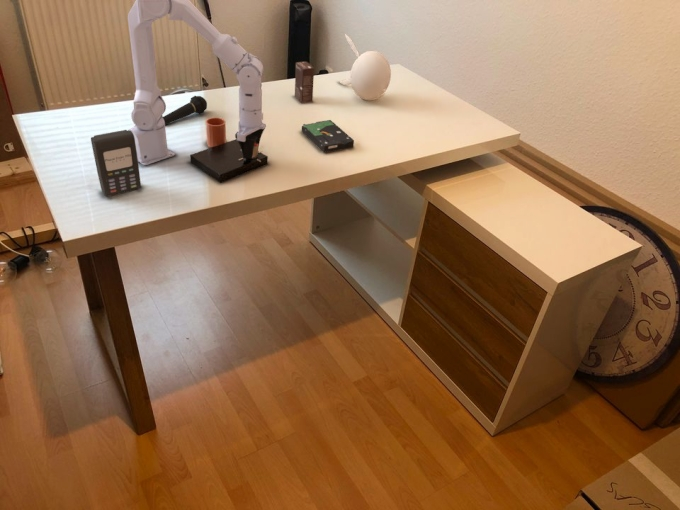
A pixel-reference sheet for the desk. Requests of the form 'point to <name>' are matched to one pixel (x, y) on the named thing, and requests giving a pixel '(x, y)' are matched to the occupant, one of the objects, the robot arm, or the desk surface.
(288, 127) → the desk surface
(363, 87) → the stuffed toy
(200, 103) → the microphone
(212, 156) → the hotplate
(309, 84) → the box
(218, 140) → the cup
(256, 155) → the dial
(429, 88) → the desk surface
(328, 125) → the disk drive
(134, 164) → the card reader
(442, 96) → the desk surface
